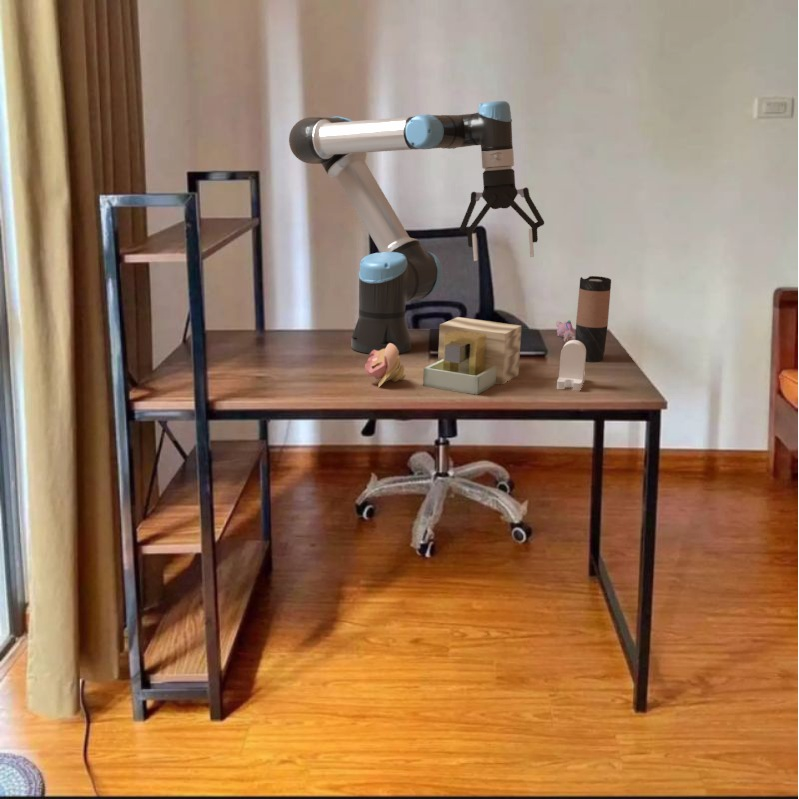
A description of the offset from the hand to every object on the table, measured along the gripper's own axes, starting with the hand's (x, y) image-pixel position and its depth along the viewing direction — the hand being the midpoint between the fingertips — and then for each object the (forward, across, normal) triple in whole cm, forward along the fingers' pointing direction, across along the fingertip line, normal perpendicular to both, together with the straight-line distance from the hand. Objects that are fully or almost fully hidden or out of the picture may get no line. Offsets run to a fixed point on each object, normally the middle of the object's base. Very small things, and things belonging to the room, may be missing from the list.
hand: (503, 258), depth 247 cm
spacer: (+23, -9, -27) cm, 36 cm away
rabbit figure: (+25, +13, +25) cm, 38 cm away
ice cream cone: (+23, -26, -31) cm, 47 cm away
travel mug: (+27, +19, +4) cm, 33 cm away
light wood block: (+25, -6, -19) cm, 32 cm away
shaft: (+18, -6, -20) cm, 28 cm away
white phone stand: (+28, +15, -21) cm, 38 cm away
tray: (+25, -9, -28) cm, 39 cm away
